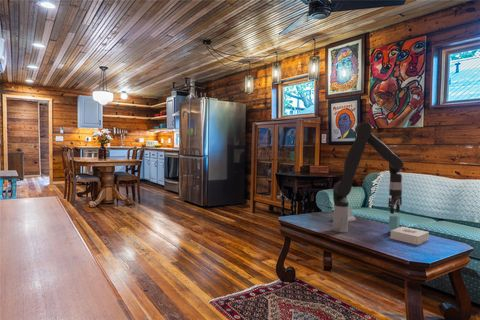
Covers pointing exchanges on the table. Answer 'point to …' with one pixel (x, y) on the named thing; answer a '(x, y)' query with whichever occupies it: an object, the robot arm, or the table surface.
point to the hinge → (350, 215)
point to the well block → (409, 235)
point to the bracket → (394, 222)
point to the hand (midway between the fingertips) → (394, 212)
